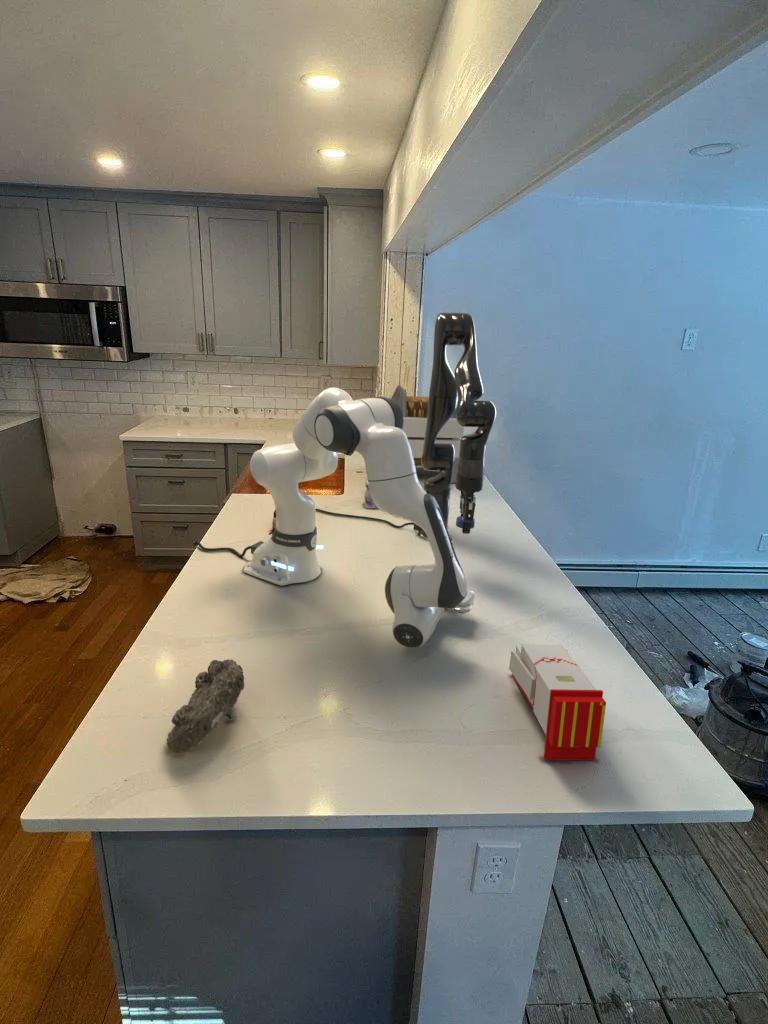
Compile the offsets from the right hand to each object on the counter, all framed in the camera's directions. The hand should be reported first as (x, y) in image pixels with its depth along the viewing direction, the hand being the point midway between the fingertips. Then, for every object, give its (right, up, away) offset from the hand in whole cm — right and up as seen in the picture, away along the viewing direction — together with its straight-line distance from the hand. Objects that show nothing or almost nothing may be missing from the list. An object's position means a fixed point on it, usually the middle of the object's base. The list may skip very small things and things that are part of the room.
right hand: (464, 529), depth 163 cm
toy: (+9, -35, -49) cm, 61 cm away
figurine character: (-59, 0, +38) cm, 70 cm away
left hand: (-8, -14, -11) cm, 19 cm away
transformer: (-6, +24, +112) cm, 114 cm away
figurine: (-27, +8, +64) cm, 70 cm away
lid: (0, +3, -1) cm, 3 cm away
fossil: (-56, -34, -55) cm, 86 cm away
